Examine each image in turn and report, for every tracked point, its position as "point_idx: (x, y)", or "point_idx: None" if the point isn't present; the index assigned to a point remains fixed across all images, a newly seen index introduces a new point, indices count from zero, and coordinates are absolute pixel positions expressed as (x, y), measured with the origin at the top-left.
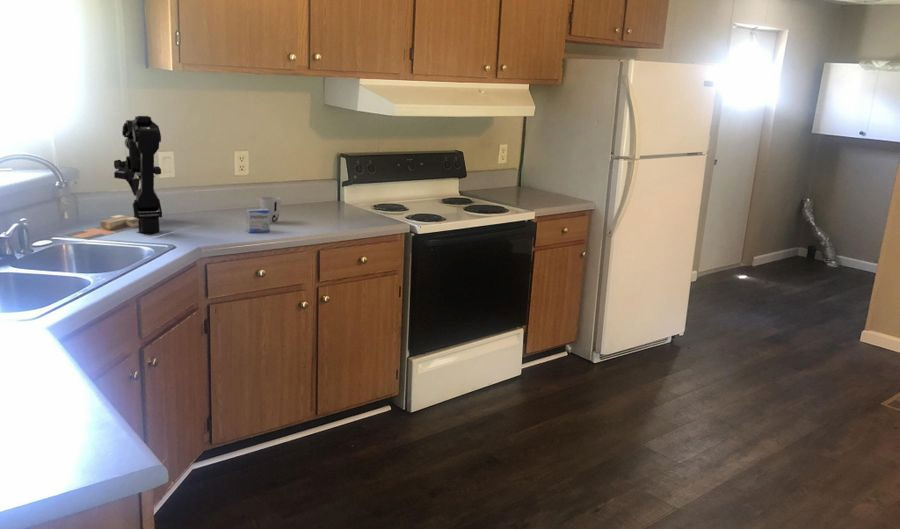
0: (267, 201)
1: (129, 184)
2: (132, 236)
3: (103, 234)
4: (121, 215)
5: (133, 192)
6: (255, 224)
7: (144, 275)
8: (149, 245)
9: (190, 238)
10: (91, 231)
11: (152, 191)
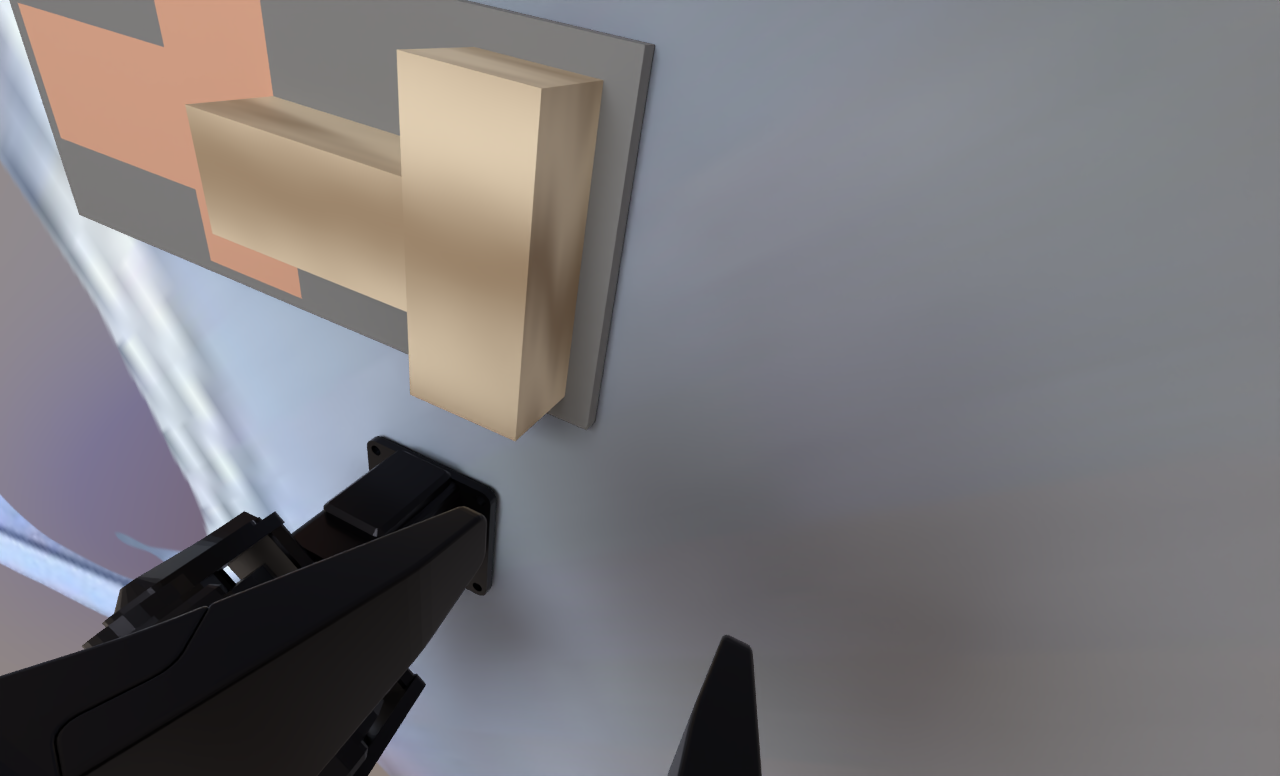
0: None
1: (73, 662)
2: (325, 427)
3: (198, 233)
4: (529, 157)
5: (392, 548)
6: None
7: (73, 597)
8: None
9: (465, 723)
10: (183, 61)
11: None
